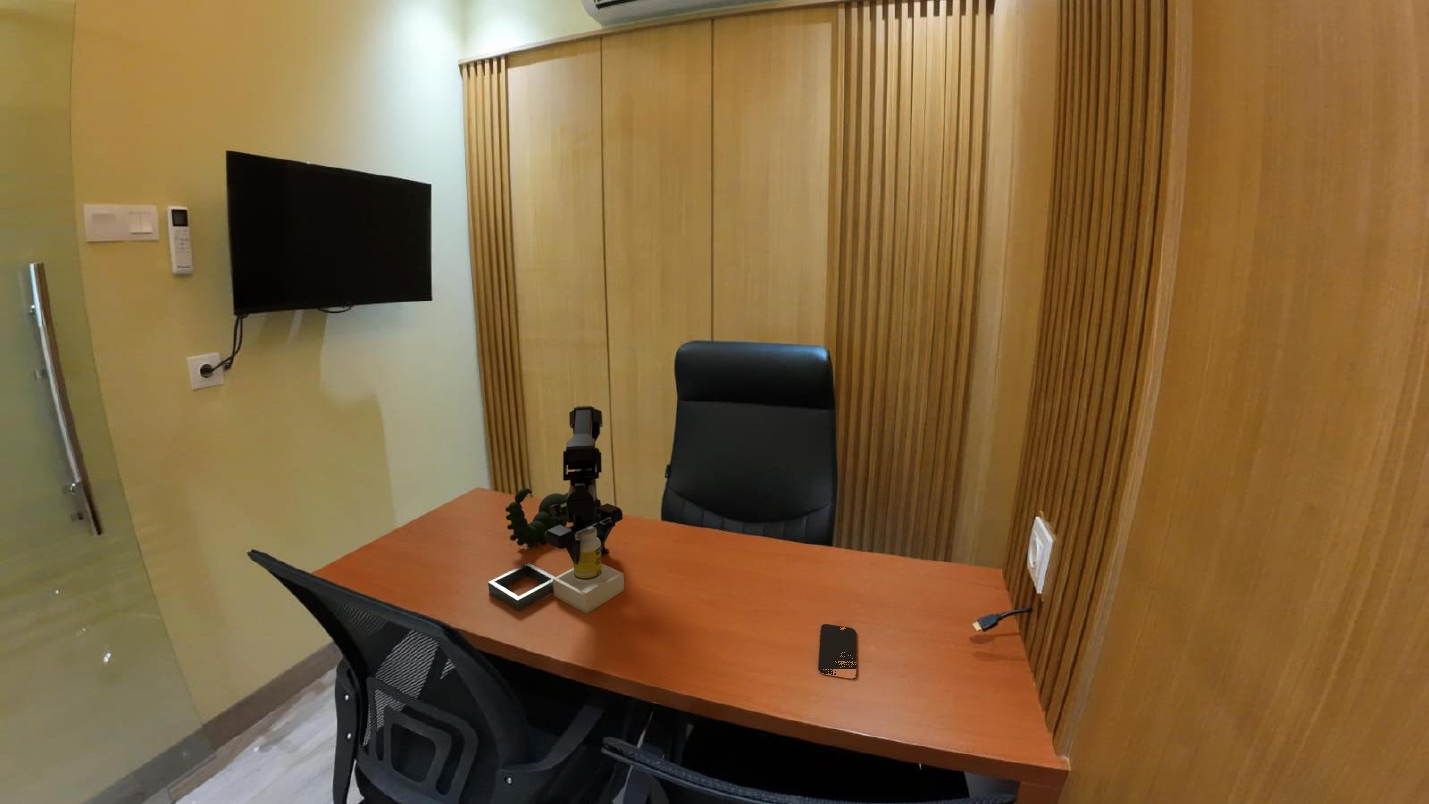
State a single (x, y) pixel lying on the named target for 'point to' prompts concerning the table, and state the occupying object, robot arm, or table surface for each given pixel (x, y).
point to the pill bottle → (588, 556)
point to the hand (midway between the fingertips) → (587, 557)
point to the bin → (588, 589)
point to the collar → (499, 584)
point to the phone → (836, 648)
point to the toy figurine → (540, 523)
